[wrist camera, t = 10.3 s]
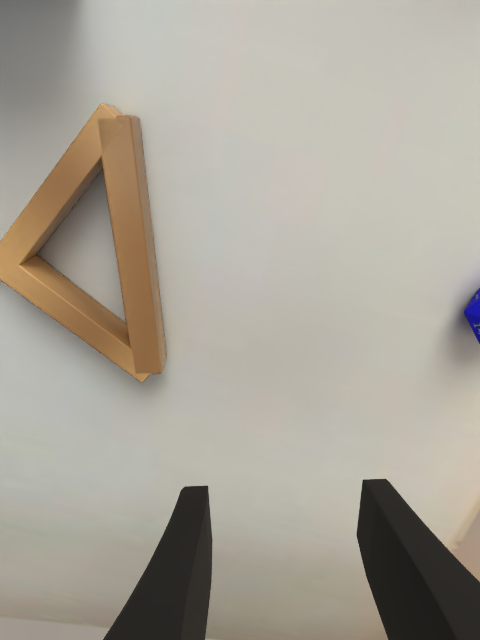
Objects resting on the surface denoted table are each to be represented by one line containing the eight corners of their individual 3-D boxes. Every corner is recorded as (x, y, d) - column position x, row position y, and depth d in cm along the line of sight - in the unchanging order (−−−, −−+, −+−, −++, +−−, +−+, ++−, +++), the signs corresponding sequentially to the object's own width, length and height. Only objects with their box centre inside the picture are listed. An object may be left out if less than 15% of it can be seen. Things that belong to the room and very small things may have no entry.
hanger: (-1, 369, 20) (-19, 388, 18) (-78, 112, 15) (-110, 109, 14) (167, 363, 20) (162, 381, 18) (138, 105, 15) (128, 102, 14)
